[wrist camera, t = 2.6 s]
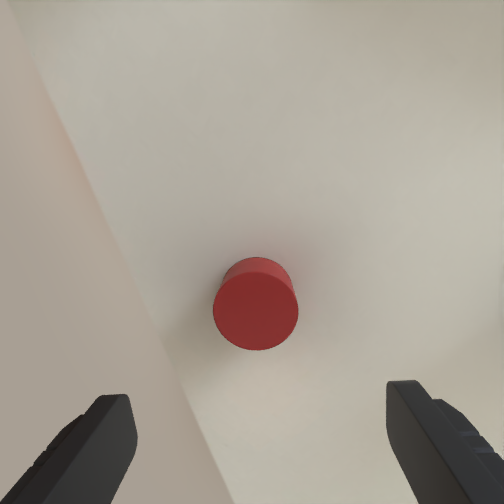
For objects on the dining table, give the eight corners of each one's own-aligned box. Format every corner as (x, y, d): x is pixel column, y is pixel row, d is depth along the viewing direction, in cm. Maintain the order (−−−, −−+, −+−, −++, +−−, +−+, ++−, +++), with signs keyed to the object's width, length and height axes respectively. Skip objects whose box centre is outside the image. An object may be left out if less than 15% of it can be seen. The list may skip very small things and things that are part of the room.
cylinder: (210, 307, 19) (200, 330, 16) (238, 245, 18) (233, 257, 14) (273, 334, 19) (275, 363, 16) (304, 275, 18) (313, 293, 15)
